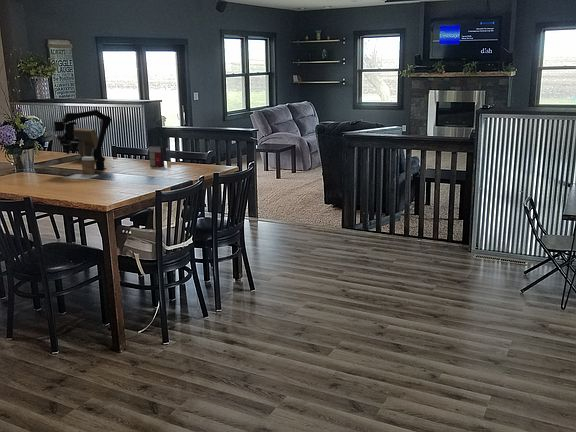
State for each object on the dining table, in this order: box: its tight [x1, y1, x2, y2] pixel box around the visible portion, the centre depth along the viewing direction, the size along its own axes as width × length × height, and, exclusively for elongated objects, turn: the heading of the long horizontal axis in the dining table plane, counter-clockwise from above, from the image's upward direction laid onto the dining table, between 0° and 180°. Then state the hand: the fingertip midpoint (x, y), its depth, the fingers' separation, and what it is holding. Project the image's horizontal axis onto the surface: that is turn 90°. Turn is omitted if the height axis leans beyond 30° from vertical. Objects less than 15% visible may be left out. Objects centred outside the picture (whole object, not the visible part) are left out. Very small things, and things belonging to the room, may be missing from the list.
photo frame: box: [74, 127, 98, 161], centre depth 467 cm, size 15×22×25 cm
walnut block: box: [80, 157, 96, 175], centre depth 401 cm, size 4×7×12 cm, turn 79°
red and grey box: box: [148, 145, 165, 168], centre depth 434 cm, size 11×4×15 cm, turn 65°
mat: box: [61, 173, 100, 181], centre depth 392 cm, size 17×18×1 cm
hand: (71, 153), depth 411 cm, fingers open, 9 cm apart
